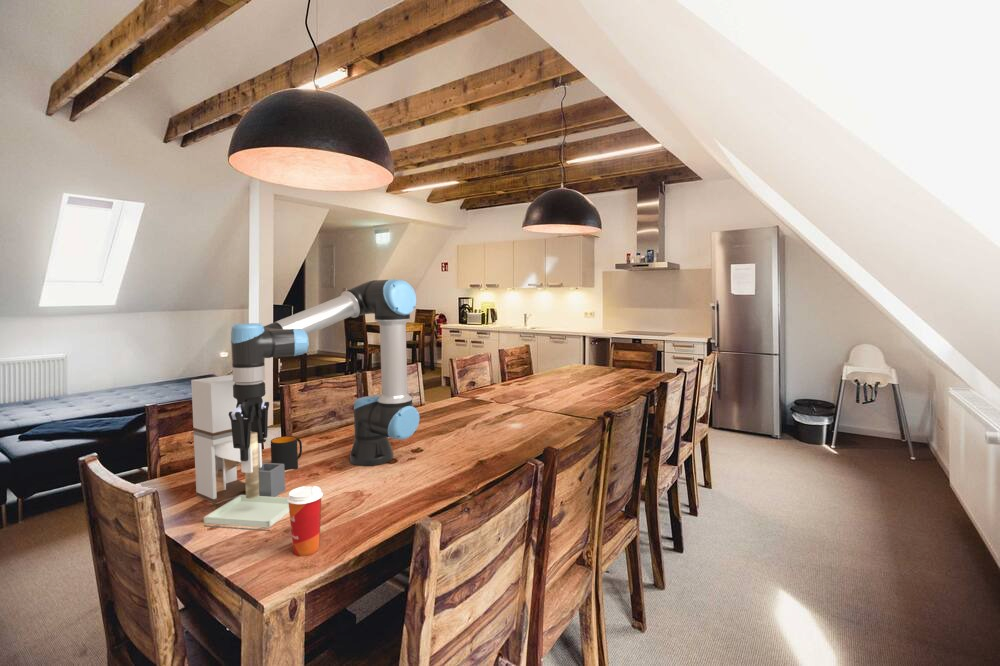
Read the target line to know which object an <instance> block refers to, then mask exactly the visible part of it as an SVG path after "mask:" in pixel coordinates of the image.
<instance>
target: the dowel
mask: <svg viewBox="0 0 1000 666" xmlns="http://www.w3.org/2000/svg"><path fill="white" fill-rule="evenodd" d="M250 448H252V459H253V472H252V473H244V478H245V480H244V483H245V485H246V494H245V495H246V498H248V499H251V498H256V497H258V496H259V467H258V436H257V432H251V436H250Z"/></svg>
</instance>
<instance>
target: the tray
mask: <svg viewBox="0 0 1000 666" xmlns="http://www.w3.org/2000/svg"><path fill="white" fill-rule="evenodd" d="M287 498H288V497H283V496H281V497H280V496H276V497H267V496H258V497H256V498H251V499H248V498H246V494H243V495H239V496H237V497H234V498H232V499H230V500H229V501H227V502H226V503H225V504H223V505H221V506H220V507H218V508H216V509H215V510H213V511H211V512H210V513H208V514H206V515H205V516H203V523H204V524H206V525H203V527H205V528H218V529H231V530H243V531H244V530H247V531H262V532H270V531H271V529H269V528H270V527H272V526H273V525H275V524H276V523H277V522H279V521H280V520H281V519H282V518H283V517H284V516H286V515H287V514H288V513H289V502H288V501H287ZM289 514H290V513H289ZM207 524H213V525H207ZM223 525H224V526H223ZM225 525H227V526H225ZM233 526H235V527H233ZM236 526H240V527H236ZM242 526H243V527H242ZM247 527H248V528H247ZM249 527H255V528H249ZM264 528H268V529H264Z"/></svg>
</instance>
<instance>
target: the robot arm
mask: <svg viewBox="0 0 1000 666" xmlns="http://www.w3.org/2000/svg"><path fill="white" fill-rule="evenodd" d="M416 305H417V295H416V291H415V289H414V287H412V285H411V284H410V283H409V282H408V281H406V280H402V279H395V278H392V279H379V280H378V279H374V280H369V281H366V282H363V283H361V284H359V285H356V286H354V287H352V288H349V289H347V290H344V291H342V293H341V294H340V296H336V297H335V298H332V299H329V300H328V301H325V302H322V303H319V304H317V305H314V306H312V307H310V308H308V309H307V308H306V309H305V310H302V311H299V312H297V313H294V314H291V315H290V316H287V317H284V318H281V319H280V320H277V321H274V322H272V323H269V324H267V325H263V324H262V323H256V322H255V323H254V322H253V323H252V322H251V323H250V322H249V323H235V324H233V325H232V326H231V331H230V332H231V333H230V345H231V346H230V347H231V361H232V362H231V363H232V364H231V365H232V375H233V382H235V384H234V385H233V397H234V398H235V399H237V405H236V410H235V411H234V412H229V417H230V420H231V427H232V437H233V447H234V448H239V449H240V460H241V464H240V467H241V468H240V469H241V473H244V474H245V473H252V472H253V459H252V448H250V436H251V432H257V436H258V467H259V468H261V467H262V463H263V458H262V456H263V455H262V454H263V443H264V444H265V443H266V442H267V439H266V438H268V429H269V428H268V424H269V422H268V420H269V408H270V402H269V401H263V397H265V396H266V383H265V380H266V370H265V369H266V367H265V359H270V358H279V357H280V358H281V357H292V356H293V357H296V356H302V355H304V354H306V353H307V351H308V350H309V346H310V343H309V341H310V339H309V335H311V334H314V333H316V332H318V331H320V330H322V329H323V330H324V329H325V328H328V327H329V326H332V325H335V324H337V323H339V322H341V321H343V320H345V319H348V318H350V317H351V318H357V317H360V316H363V315H371V314H372V315H373V314H374V321H375V322H376V323H377V324H378V325H379V340H380V342H379V343H380V372H381V374H380V375H381V377H380V378H381V394H376V395H369V396H362V397H359V398H356V399H355V400H354V403H353V417H354V420H353V421H354V422H353V423H354V440H353V444H352V448H351V449H350V453H349V454H350V455H349V462H350V463H351V464H352V465H355V466H363V467H367V466H369V467H370V466H378V465H383V464H386V463H388V462H390V461H392V460H393V458H394V450H393V447H392V444H391V442H390V440H389V439H392V440H399V441H400V440H401V441H402V440H407V439H408V438H409V439H410V437H412V435H413V434H415V431H417V429H418V427H419V426H420V425H419V424H420V417H421V416H420V413H419V411H418V409H417V408H416V407H415V406H414V405H413V397H412V396H411V395H410V394H409V392H408V365H407V364H408V361H407V358H408V357H407V334H406V333H407V330H406V329H407V328H406V327H407V326H406V325H407V323H408V322H409V321H410V320H411V313H412V312H414V310H415V308H416ZM244 418H248V419H244Z"/></svg>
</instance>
